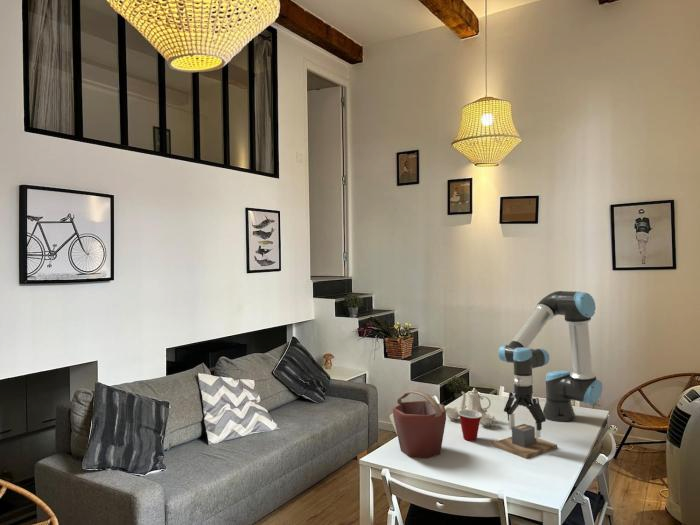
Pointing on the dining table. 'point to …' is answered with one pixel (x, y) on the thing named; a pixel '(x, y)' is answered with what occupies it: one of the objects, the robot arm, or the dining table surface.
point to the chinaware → (472, 408)
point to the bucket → (420, 426)
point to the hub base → (527, 451)
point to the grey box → (523, 435)
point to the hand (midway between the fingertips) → (524, 433)
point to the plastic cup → (469, 423)
